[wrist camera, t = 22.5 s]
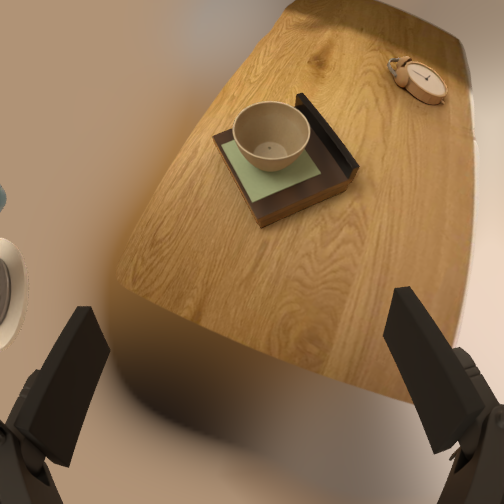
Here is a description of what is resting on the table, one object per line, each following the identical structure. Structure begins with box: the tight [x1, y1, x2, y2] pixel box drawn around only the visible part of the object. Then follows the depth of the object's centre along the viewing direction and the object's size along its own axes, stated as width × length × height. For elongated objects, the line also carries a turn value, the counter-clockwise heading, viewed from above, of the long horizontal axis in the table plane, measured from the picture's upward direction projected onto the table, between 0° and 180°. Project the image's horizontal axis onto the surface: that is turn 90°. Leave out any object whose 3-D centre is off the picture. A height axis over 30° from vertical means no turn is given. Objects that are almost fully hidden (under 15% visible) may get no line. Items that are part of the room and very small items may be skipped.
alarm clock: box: [387, 56, 448, 105], centre depth 53 cm, size 11×5×15 cm
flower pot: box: [233, 101, 310, 172], centre depth 41 cm, size 10×10×7 cm
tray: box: [213, 93, 360, 228], centre depth 45 cm, size 16×16×7 cm
